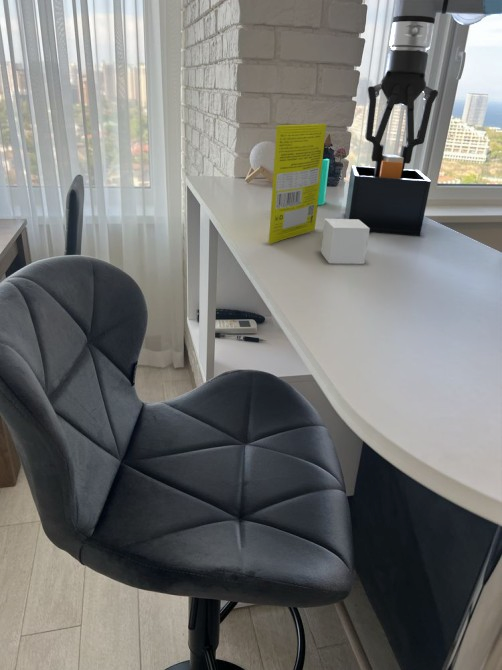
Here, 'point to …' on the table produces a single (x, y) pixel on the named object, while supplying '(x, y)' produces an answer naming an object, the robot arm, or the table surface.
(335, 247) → the white cube
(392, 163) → the orange and grey block
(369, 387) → the table surface
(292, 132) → the food package
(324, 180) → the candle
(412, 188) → the black open storage box
